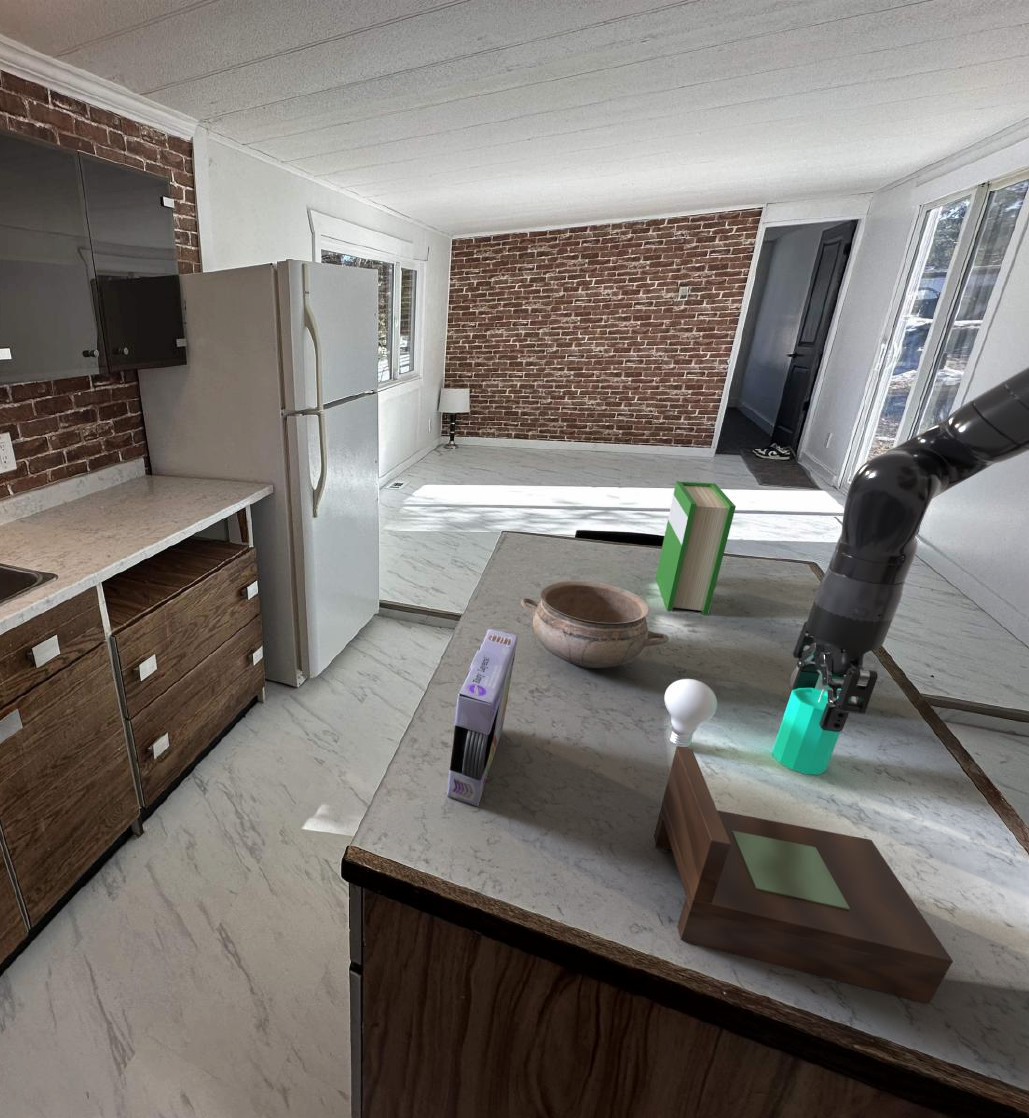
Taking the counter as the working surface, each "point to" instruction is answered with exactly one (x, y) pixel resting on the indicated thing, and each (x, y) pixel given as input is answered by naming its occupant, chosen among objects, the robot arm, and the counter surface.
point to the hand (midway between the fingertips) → (814, 710)
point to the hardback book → (694, 545)
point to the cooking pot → (592, 623)
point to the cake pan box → (480, 716)
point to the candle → (805, 733)
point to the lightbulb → (688, 708)
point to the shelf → (794, 894)
